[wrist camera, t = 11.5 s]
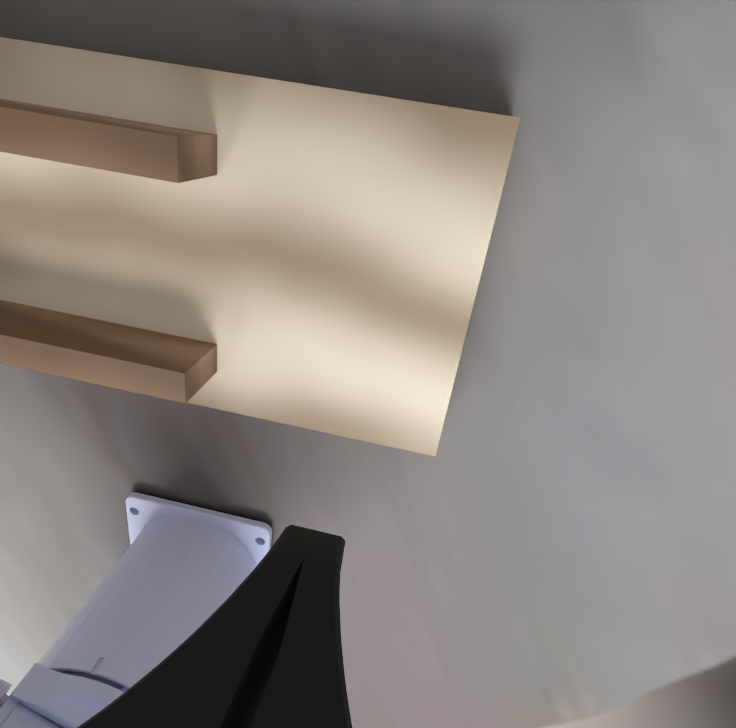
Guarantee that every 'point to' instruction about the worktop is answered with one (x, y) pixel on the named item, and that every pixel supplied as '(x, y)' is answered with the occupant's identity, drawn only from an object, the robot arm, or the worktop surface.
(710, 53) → the worktop surface
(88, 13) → the worktop surface
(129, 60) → the board
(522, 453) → the worktop surface
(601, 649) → the worktop surface
